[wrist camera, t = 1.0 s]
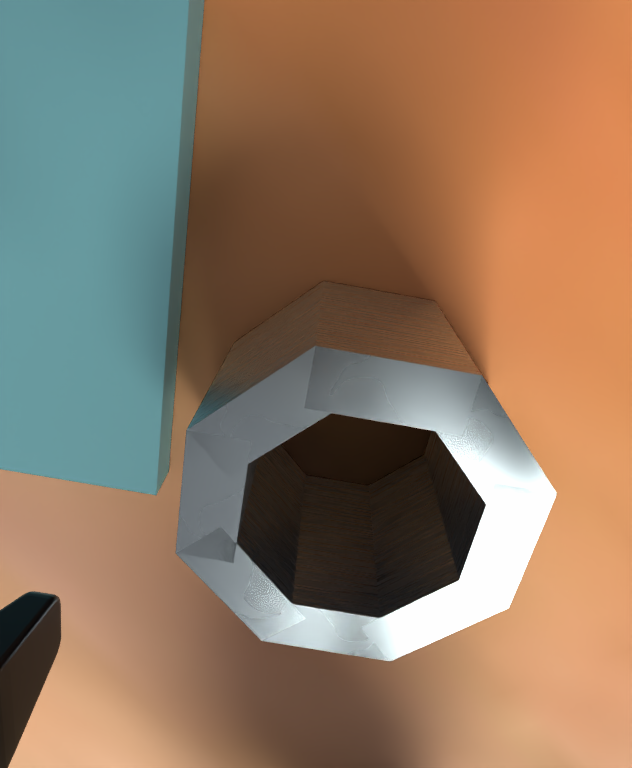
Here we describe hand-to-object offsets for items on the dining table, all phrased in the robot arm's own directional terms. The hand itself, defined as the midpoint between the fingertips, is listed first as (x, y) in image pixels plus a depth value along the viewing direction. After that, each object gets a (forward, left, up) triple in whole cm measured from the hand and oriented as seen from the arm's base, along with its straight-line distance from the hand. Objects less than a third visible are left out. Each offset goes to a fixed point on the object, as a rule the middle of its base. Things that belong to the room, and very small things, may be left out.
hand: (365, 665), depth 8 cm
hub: (0, 0, -8) cm, 8 cm away
